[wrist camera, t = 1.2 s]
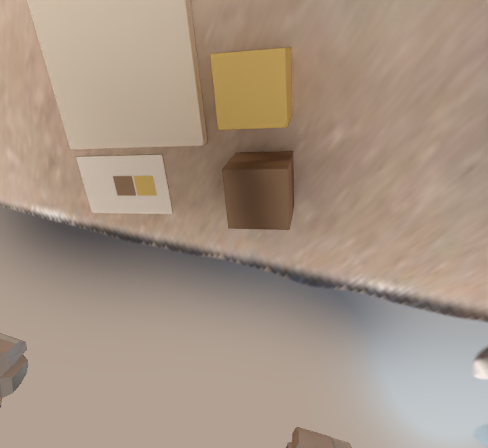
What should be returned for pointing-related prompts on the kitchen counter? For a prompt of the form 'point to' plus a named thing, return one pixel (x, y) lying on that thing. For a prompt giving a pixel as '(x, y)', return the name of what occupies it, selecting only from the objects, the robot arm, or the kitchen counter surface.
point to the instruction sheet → (126, 184)
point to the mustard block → (253, 88)
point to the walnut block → (259, 190)
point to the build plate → (123, 71)
